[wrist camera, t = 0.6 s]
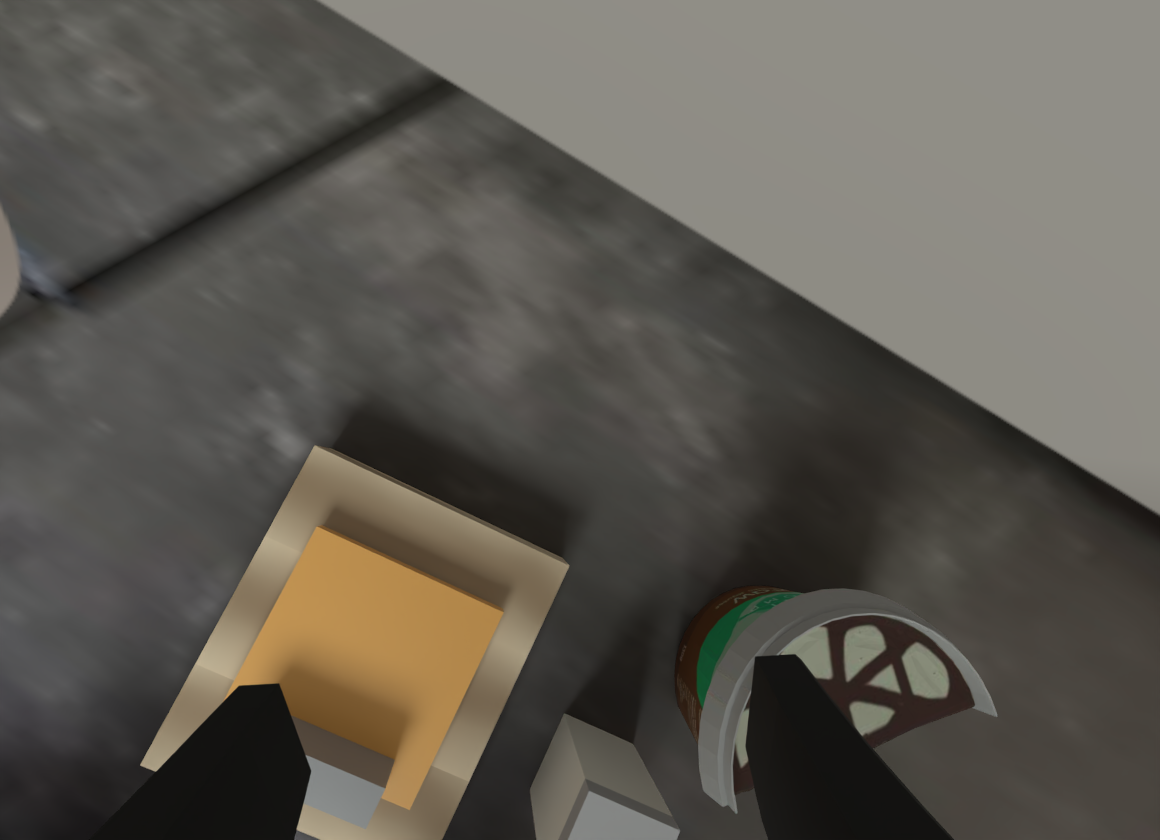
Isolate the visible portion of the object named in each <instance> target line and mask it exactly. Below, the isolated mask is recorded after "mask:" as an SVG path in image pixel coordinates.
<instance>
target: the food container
mask: <svg viewBox="0 0 1160 840" xmlns="http://www.w3.org/2000/svg"><path fill="white" fill-rule="evenodd" d="M788 654H796V655H797V656H798V657H799V658H800V659H801V660H802V661H803V662H804V664H805V665H806V666H807V667H808V669H809V670H810V671H811V673H812V674H813V675H814V677H815V678H816V679H817V680H818V682H819V683H820V684H821V686H822V687H823V688H824V689H825V691H826V692H827V693H828V694H829V696H830V697H831V698H832V700H833V701H834V702H835V703H836V704H837V706H838V707H839V708H840V709H841V711H842V712H843V713H844V714H845V716H846V717H847V718H848V719H849V721H850V722H851V723H852V724H853V725H854V727H855V728H856V729H857V730H858V731H859V733H860V734H861V735H862V736H863V738H864V739H865V740H866V741H867V742H868V744H869V745H870V746H871V747H872V748H875V747H877V746H879V745H882V744H883V743H885V742H887V741H889V740H891V739H893V738H895V737H897V736H899V735H901V734H903V733H906V732H908V731H910V730H912V729H914V728H917V727H920V726H922V725H925V724H928V723H930V722H933V721H936V720H939V719H941V718H944V717H947V716H949V715H952V714H955V713H958V712H961V711H963V710H966V709H969V708H974V709H977V710H980V711H982V712H985V713H987V714H990V715H993V716H995V717H997V716H998V715H997V713H996V710H995V707H994V705H993V702H992V699H991V696H990V695H989V693H988V691H987V689H986V687H985V685H984V683H983V681H982V680H981V678H980V676H979V675H978V673H977V672H976V671H975V669H974V668H973V667H972V665H971V664H970V662H969V661H968V660H967V658H966V657H965V656H964V655H963V654H962V653H961V652H960V650H959V649H958V648H957V647H956V646H955V645H954V644H953V643H952V642H951V641H950V640H949V639H948V638H947V637H946V636H945V635H944V634H943V633H942V632H940V631H939V630H938V629H936V628H935V627H933V626H932V625H931V624H929V623H928V622H927V621H925V620H924V619H922V618H921V617H919V616H918V615H916V614H915V613H913V612H912V611H910V610H909V609H907V608H906V607H904V606H902V605H900V604H898V603H896V602H894V601H892V600H890V599H888V598H886V597H883V596H880V595H877V594H874V593H870V592H867V591H862V590H854V589H845V588H840V589H822V590H818V591H813V592H809V593H799V592H794V591H790V590H785V589H780V588H775V587H771V586H744V587H739V588H735V589H732V590H730V591H727V592H725V593H723V594H721V595H719V596H718V597H716V598H715V599H713V600H711V601H710V602H709V603H708V604H707V605H706V606H704V607H703V608H702V609H701V610H700V611H699V613H698V614H697V615H696V616H695V617H694V619H693V620H692V621H691V623H690V625H689V627H688V628H687V630H686V632H685V634H684V636H683V638H682V641H681V643H680V646H679V650H678V654H677V658H676V664H675V674H674V677H675V693H676V698H677V703H678V707H679V709H680V711H681V713H682V715H683V717H684V719H685V721H686V723H687V725H688V727H689V729H690V730H691V732H692V734H693V736H694V738H695V740H696V742H697V744H698V751H699V770H700V776H701V781H702V787H703V791H704V792H705V793H706V794H708V795H709V796H710V797H711V798H712V799H714V800H715V801H716V802H717V803H718V804H720V805H721V806H722V807H724V806H726V805H729V806H730V808H731V809H732V810H733V811H734V812H735V813H738V812H737V806H736V800H735V795H736V794H739V793H741V792H746V791H750V790H751V789H753V788H754V784H753V779H752V775H751V770H750V766H749V761H748V757H747V752H746V747H745V744H746V735H747V726H748V716H749V707H750V698H751V689H752V679H753V670H754V661H755V656H770V655H788Z"/></svg>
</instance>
